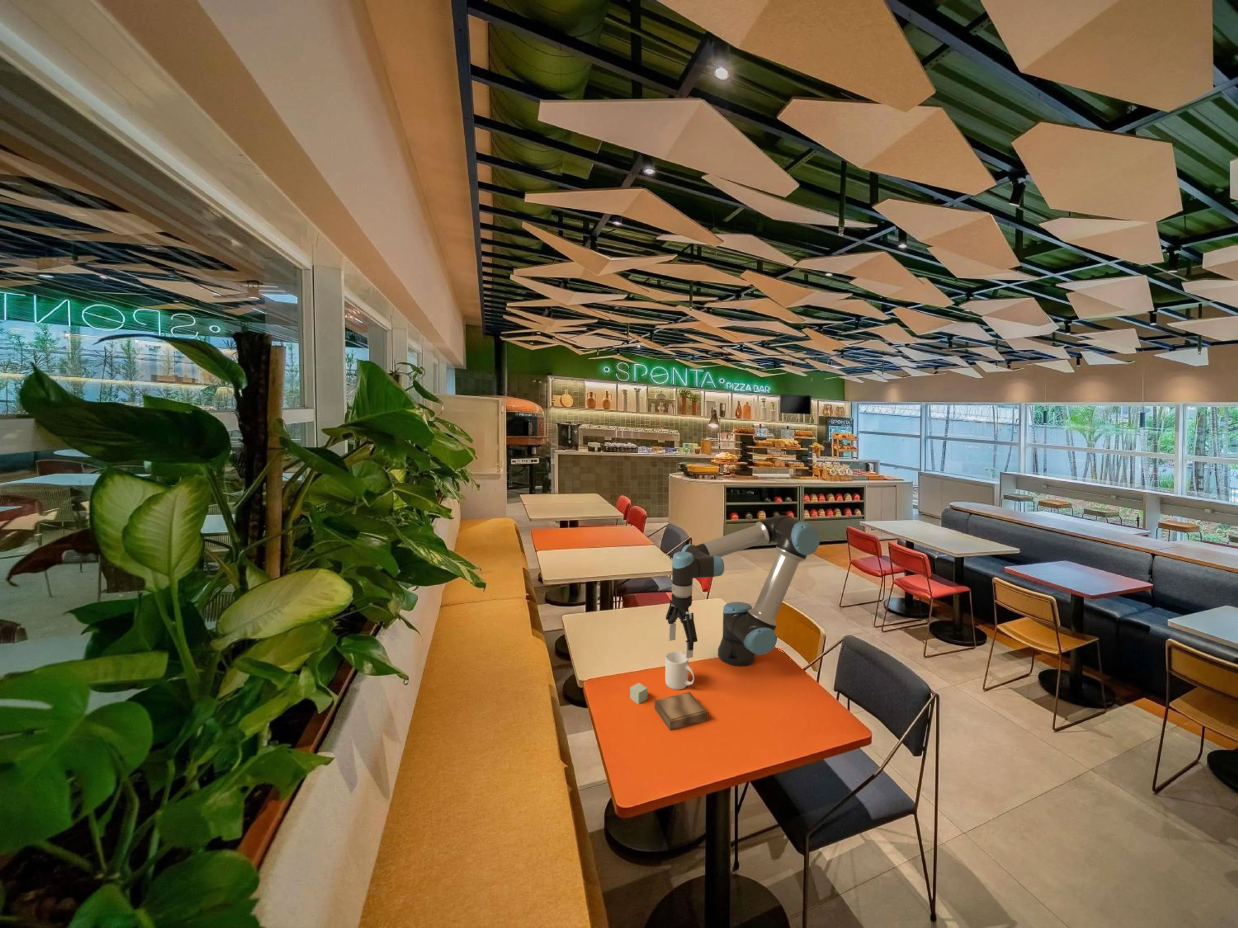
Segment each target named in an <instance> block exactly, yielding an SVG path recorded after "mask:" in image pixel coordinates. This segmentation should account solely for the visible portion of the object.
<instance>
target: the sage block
mask: <svg viewBox="0 0 1238 928" xmlns="http://www.w3.org/2000/svg"><path fill="white" fill-rule="evenodd" d="M629 694H630V695H629V698H630V700H632V701H633V702H634V703H636V704H637V705H640V704H642V703H643V702H646V701H647V700H648V687H647V686H644V685H643V684H642V683H640V682H638V683H635V684H634V685H632V686H630V687H629Z"/></svg>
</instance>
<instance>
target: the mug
mask: <svg viewBox="0 0 1238 928" xmlns="http://www.w3.org/2000/svg"><path fill="white" fill-rule="evenodd" d="M664 663H665V666H664V668H665V669H664V672H665V673H664V677H665V678H664V679H665V680H664V681H665V685H666V686H667V687H668V688H670V689H672V690H674V691H675V690H678V691H679V690H680V691H681V690H683V689H685V688H686V687H687V686H688V687H689V686H692V685H693V684H694V682H695V674H694V670H693V669H692V667H691V666H690V665H689V658H687V659H686V658H685V653H684V652H681V651H670V652H668V653H667V654H666V655H665V662H664ZM689 672H690V673H691V676H692V680H691V681H690V680H689Z"/></svg>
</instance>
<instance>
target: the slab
mask: <svg viewBox="0 0 1238 928" xmlns="http://www.w3.org/2000/svg"><path fill="white" fill-rule="evenodd" d="M654 710H655V712H656V713H657V714H658V716H659V717H660V718H661V720H662V721H663V723H664V724H665V725H666V727H667V728H668V730H669V731H672V730H677V729H681V728H684V727H687V726H693V725H695V724H699V723H703V722H707V721H708V711H707V710H706V708H705V707H704V706H703V705H702V704H701V703H700V702H699V701H698V700H697V699H696V697H695V696H694V695H693V693H691V692H690V691H689V692H684V693H681V694H676V695H672V696H668V697H664V698H660V699H656V700H655V699H654Z"/></svg>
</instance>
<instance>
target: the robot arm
mask: <svg viewBox="0 0 1238 928" xmlns="http://www.w3.org/2000/svg"><path fill="white" fill-rule="evenodd" d="M820 539H821V538H820V534H819V532H818V530H817V528H816V527H815V526H813V525H812V524H810V523H808V522H806V521H803V520H800V519H797V518H794V517H792V516H789V515H777V516H773V517H768V518H766V519H765V518H764V519H762V520H759V521H757V522H755V524H754V525H752V526H750V527H746V528H744V529H741V530H738V531H735V532H731V533H729V534H727V535H723V536H721V537H718V538H714V539H712V540H709V541H705V542H702V543H699V544H697V545H695V544H692V543H689V544H685V545H684V546H683V547H682V549H681V551H677V552H674V554H673V556H672V562H671V563H672V564H671V567H672V568H671V571H672V572H671V575H672V576H671V577H672V580H671V600H670V601H669V606H668V610H667V611H666V612H667V613H666V615H665V620H667V623H668V641H669V642H672V641H676V636H677V635H676V633H677V632H676V631H677V627H676V626H677V624H676V623H677V620H678V619H679V620H680V623H681V624H682V627H683V630H684V635H685V637H686V640H685V653H684V654H685V658H686V659H687V658H688V659H691V658H694V643H696V642H698V641H699V640H698V635H697V630H696V624H695V618H694V613H693V612H690V610H689V608H690V607H691V606H692V604H693V580H694V579H699V578H700V579H701V578H702V579H703V578H716V577H720V576H723V574H724V573H725V572H724V571H725V562H724V559H723V557H725V556H729V555H730V554H733V553H737V552H740V551H743V550H746V549H748V548H751V547H754V546H757V545H759V544H764V545H768V544H770V543H776V546H775V548H776V551H777V553H776V556H775V559H774V561H773V562H772V566H771V567H770V569H769V572H768V575H767V576H766V579H765V581H764V584H763V586H762V589H761V590H760V593H759V595H758V598H757V600H756V602H755V604H754V607H753V606H752V605H751V604H750V603H746V602H743V601H742V602H740V601H732V602H731V601H730V602H726V604H724V606H723V611H722V637H721V640H720V642H719V643H720V644H719V646H718V649H717V656H718V659H719V660H721V661H722V662H724V663H726V664H728V665H730V666H737V667H746V666H750V665H752V664H753V663H754V662H755V660H756V659H755V657H756V656H757V655H758V656H762V655H765V654H768V653H770V652H771V651H772V650H774V648H775V647H776V646H777V645H776V644H777V642H778V637H777V633H776V631H775V630H776V628H777V626H778V623H777V621H776V618H777V616H778V613H779V610H780V608H781V605H782V604H783V601H784V599H785V597H786V595H787V591H788V589H789V587H790V585H791V582H792V580H793V578H794V576H795V573H796V571H797V569H798V568H799V567H798V566H799V564H800V563H801V562H804V561H806V559H807V557H808V556H809V555H812V554H813V553H816V551H817V550H818V549H819V545H820Z"/></svg>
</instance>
